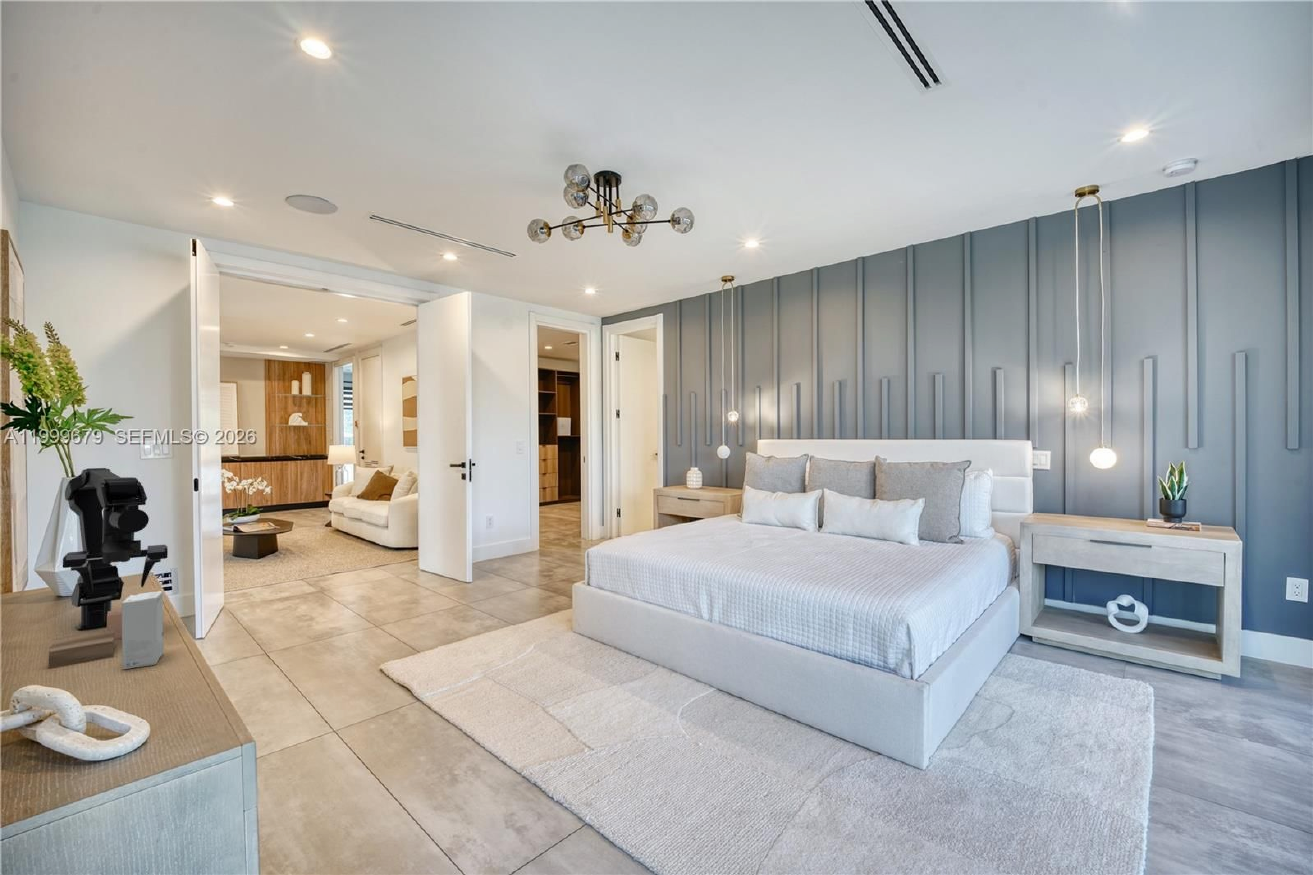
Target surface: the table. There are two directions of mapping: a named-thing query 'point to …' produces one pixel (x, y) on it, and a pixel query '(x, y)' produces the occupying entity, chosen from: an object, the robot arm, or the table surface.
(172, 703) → the table surface
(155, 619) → the skincare box
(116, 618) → the terracotta block
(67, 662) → the block
